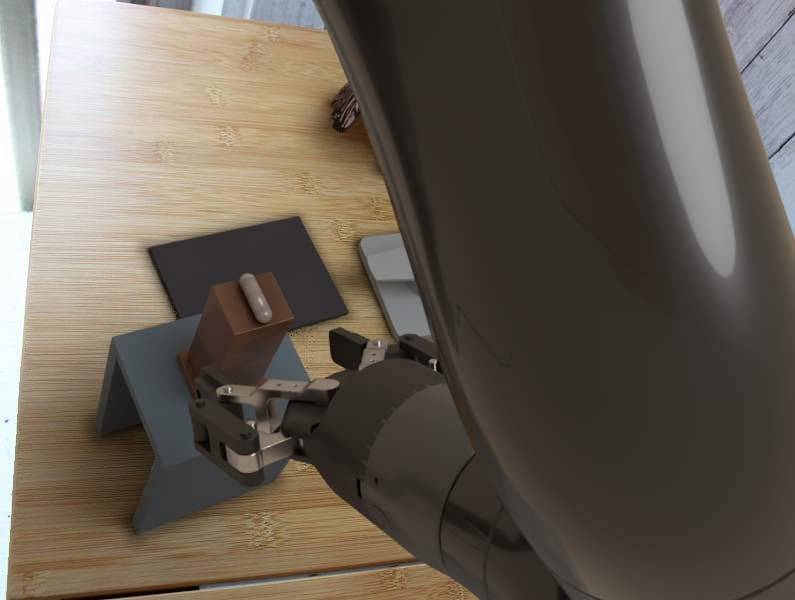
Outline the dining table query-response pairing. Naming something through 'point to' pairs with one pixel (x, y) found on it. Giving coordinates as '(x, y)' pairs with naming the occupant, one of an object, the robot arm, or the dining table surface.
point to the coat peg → (239, 330)
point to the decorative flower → (344, 109)
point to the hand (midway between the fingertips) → (272, 361)
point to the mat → (250, 269)
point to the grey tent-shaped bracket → (174, 419)
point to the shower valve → (394, 284)
